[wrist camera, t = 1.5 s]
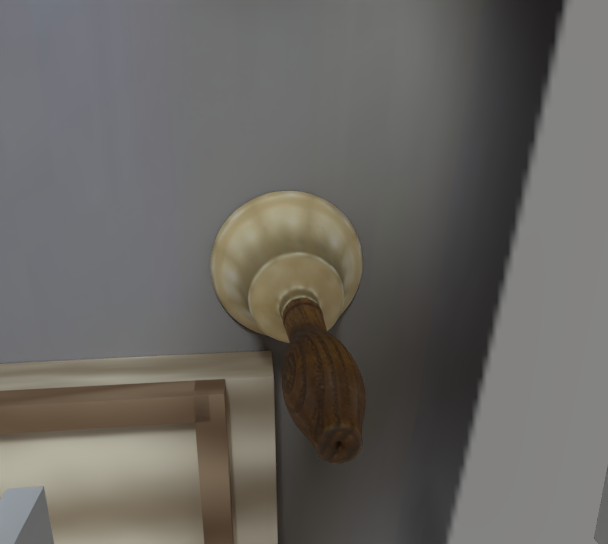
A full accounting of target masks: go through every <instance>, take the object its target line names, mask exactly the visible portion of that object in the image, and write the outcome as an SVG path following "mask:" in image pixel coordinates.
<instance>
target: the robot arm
mask: <svg viewBox="0 0 608 544" xmlns="http://www.w3.org/2000/svg"><path fill="white" fill-rule="evenodd" d="M594 539H595V540H596V541H597V543H598V544H608V468H607V473H606V478H605V483H604V489H603V494H602V499H601V504H600V509H599V515H598V520H597V525H596V530H595V536H594ZM0 544H54V540H53V535H52V529H51V523H50V518H49V512H48V507H47V501H46V495H45V490H44V486H39V487H24V488H10V489H7V490H6V491H5V493H4V494H3V496H2V498H1V499H0Z"/></svg>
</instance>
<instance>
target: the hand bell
mask: <svg viewBox="0 0 608 544" xmlns="http://www.w3.org/2000/svg"><path fill="white" fill-rule="evenodd" d="M362 269H363V256H362V249H361V244H360V241H359V238H358V236H357V233H356V231H355V229H354V227H353V226H352V224H351V222H350V221H349V220H348V218H347V217H346V216H345V215H344V214H343V213H342V212H341V211H340V210H339V209H338V208H337V207H335V206H334V205H332V204H331V203H329V202H328V201H326V200H324V199H322V198H320V197H318V196H315V195H312V194H309V193H305V192H300V191H277V192H271V193H267V194H264V195H261V196H259V197H256V198H254V199H252V200H250V201H248V202H247V203H245V204H244V205H242V206H241V207H239V208H238V209H237V210H236V211H234V212H233V213H232V214H231V215H230V217H229V218H228V219H227V220H226V221H225V223H224V224H223V225H222V227H221V229H220V230H219V232H218V234H217V237H216V239H215V242H214V245H213V249H212V253H211V260H210V272H211V279H212V284H213V287H214V290H215V292H216V295H217V297H218V299H219V300H220V302H221V304H222V305H223V307H224V308H225V310H226V311H227V312H228V313H229V314H230V315H231V316H232V317H233V318H234V319H235V320H236V321H238V322H239V323H240V324H242V325H243V326H245V327H247V328H248V329H250V330H252V331H255V332H257V333H260V334H263V335H267V336H270V337H272V338H274V339H276V340H278V341H282V342H286V343H290V345H289V346H288V348H287V351H286V354H285V357H284V361H283V366H282V388H283V394H284V399H285V403H286V407H287V409H288V412H289V414H290V416H291V417H292V419H293V421H294V423H295V424H296V426H297V427H298V428H299V429H300V430H301V432H302V433H303V434H304V435H305V436H306V437H307V438H308V439H309V440H310V441H311V443H312V444H313V445H314V447H315V449H316V450H317V452H318V454H319V456H320V457H321V458H322V459H324V460H325V461H328V462H330V463H335V464H340V463H344V462H347V461H350V460H352V459H353V458H355V456H356V455H357V454H358V453H359V452H360V449H361V447H362V423H363V419H364V414H365V389H364V384H363V380H362V376H361V374H360V372H359V369H358V367H357V365H356V363H355V361H354V359H353V357H352V356H351V354H350V353H349V352H348V350H347V349H346V348H345V347H344V345H343V344H342V343H341V342H340V341H339V340H337V339H336V338H335V337H334V336H332V335H330V334H329V333H328V332H327V331H328V330H329V329H330V328H331V327H332V326H333V325H334V324H335V323H336V321H337V319H338V318H339V316H340V315H341V314H342V313H343V312H344V311H345V309H346V308H347V307H348V305H349V304H350V303H351V301H352V300H353V298H354V296H355V294H356V292H357V290H358V287H359V284H360V281H361V276H362Z"/></svg>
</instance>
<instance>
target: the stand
mask: <svg viewBox="0 0 608 544" xmlns="http://www.w3.org/2000/svg"><path fill="white" fill-rule="evenodd" d="M39 486H44V490H45V495H46V501H47V507H48V512H49V518H50V523H51V529H52V535H53V540H54V544H278V531H277V490H276V448H275V406H274V373H273V363H272V353H271V350H270V351H249V352H229V353H208V354H188V355H167V356H147V357H126V358H106V359H85V360H65V361H44V362H24V363H3V364H0V499H1V498H2V496H3V494H4V493H5V491H6V490H7V489H10V488H24V487H39Z"/></svg>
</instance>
